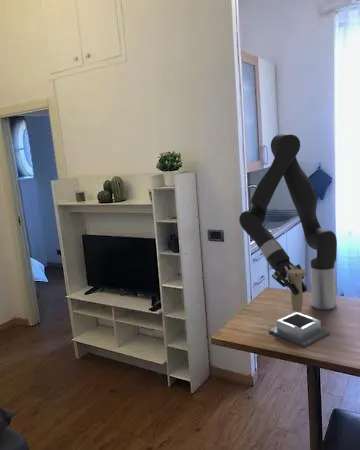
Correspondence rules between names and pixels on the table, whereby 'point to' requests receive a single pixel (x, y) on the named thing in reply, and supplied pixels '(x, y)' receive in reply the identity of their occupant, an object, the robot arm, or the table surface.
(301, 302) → the handle
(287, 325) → the socket
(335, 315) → the table surface
